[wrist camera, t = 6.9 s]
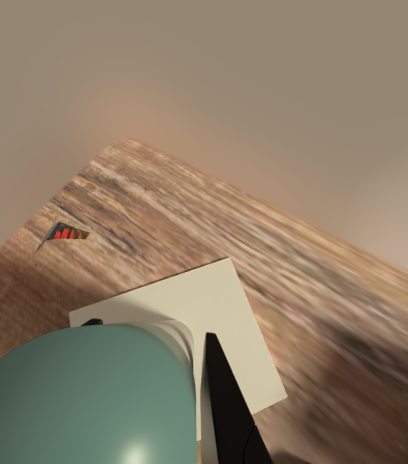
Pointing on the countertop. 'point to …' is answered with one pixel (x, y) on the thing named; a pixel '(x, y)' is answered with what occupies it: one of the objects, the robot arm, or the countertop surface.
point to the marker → (100, 396)
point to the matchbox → (66, 232)
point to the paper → (203, 325)
